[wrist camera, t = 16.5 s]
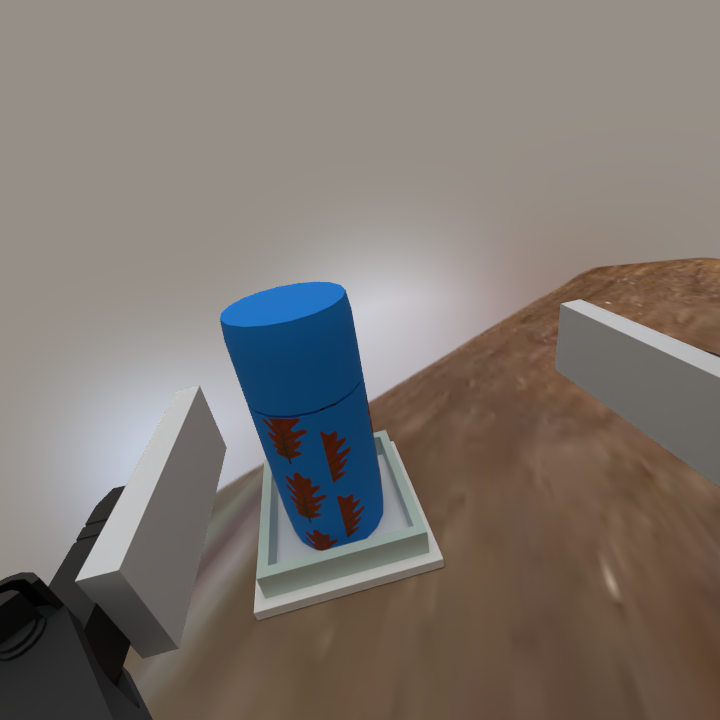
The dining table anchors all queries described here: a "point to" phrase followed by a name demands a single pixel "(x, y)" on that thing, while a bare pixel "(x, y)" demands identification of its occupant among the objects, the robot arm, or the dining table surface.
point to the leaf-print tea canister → (309, 407)
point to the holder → (347, 562)
